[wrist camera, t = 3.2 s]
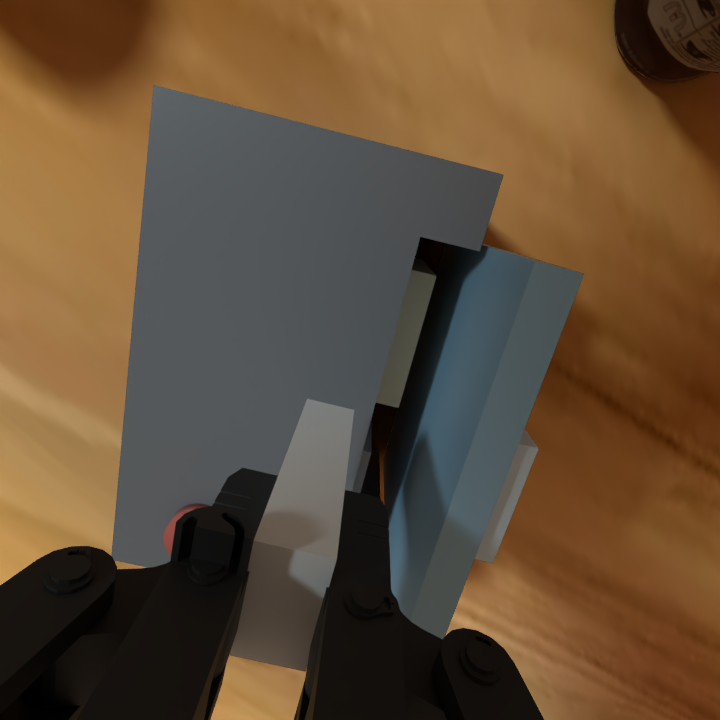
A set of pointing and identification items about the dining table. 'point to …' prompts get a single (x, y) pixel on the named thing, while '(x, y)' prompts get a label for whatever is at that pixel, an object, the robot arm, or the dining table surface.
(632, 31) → the coffee cup
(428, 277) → the grey notched block
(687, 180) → the dining table surface
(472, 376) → the side door
